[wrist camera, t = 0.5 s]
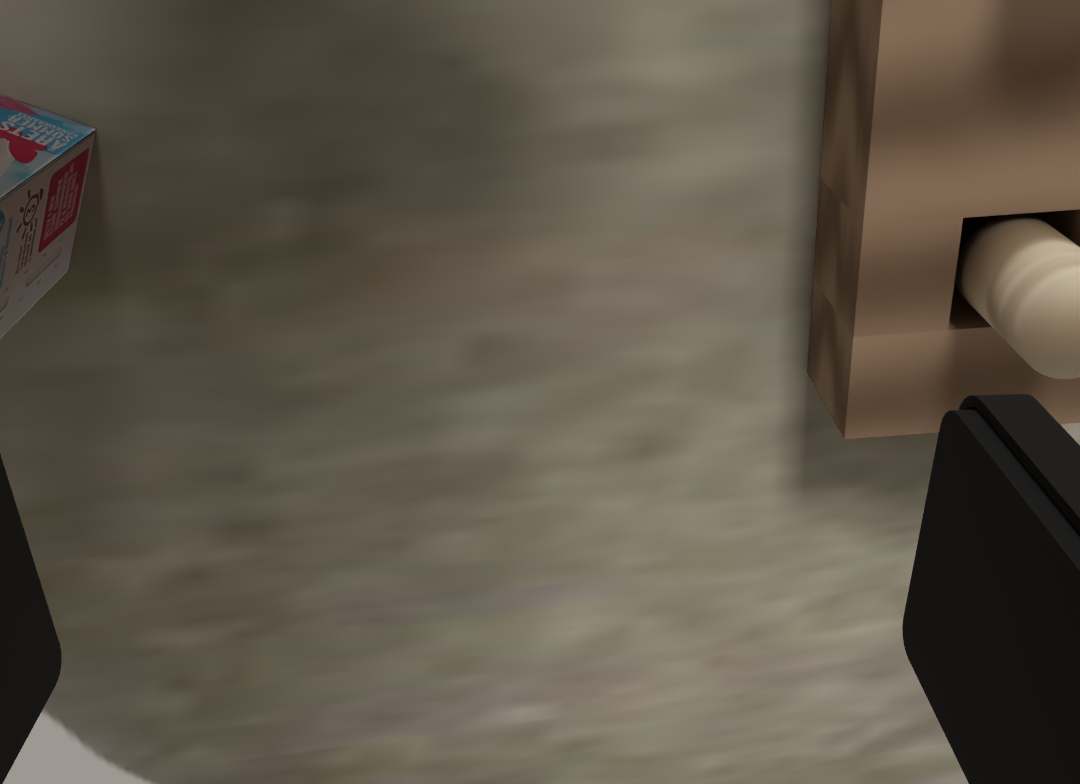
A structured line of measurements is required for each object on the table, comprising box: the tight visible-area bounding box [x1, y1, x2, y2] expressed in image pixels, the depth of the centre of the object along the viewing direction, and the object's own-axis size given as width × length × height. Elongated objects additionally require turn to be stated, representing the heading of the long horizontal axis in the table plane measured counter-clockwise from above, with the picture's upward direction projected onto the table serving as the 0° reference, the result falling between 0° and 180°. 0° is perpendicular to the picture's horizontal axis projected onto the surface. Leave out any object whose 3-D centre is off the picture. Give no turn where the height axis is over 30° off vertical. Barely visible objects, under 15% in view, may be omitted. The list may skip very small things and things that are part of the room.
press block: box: [808, 0, 1080, 439], centre depth 38 cm, size 28×12×6 cm, turn 4°
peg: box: [955, 214, 1080, 379], centre depth 37 cm, size 4×4×6 cm
